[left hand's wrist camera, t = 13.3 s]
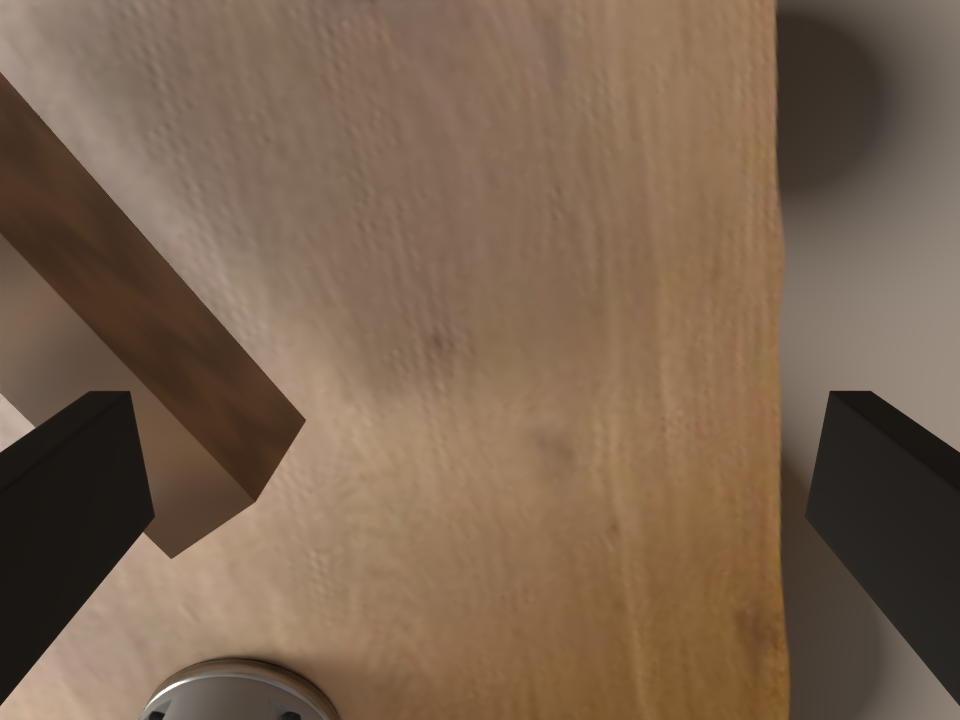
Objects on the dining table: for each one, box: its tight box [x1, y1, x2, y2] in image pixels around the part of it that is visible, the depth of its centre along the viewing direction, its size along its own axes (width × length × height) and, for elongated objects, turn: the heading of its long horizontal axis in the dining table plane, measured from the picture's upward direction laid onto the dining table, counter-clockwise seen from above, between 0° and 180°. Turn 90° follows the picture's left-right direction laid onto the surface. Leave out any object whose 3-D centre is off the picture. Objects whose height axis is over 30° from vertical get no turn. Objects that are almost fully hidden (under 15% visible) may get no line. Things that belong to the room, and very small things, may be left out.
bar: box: [0, 72, 306, 559], centre depth 30 cm, size 26×5×9 cm, turn 36°
